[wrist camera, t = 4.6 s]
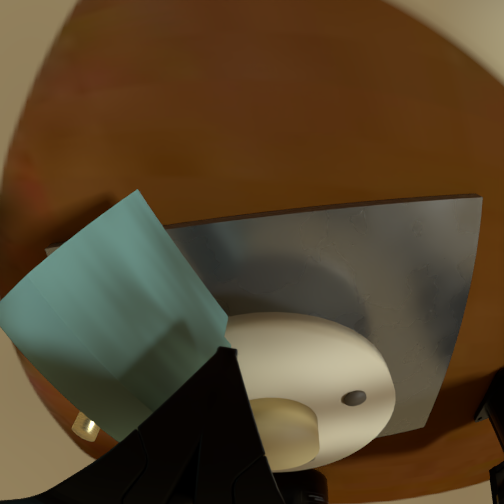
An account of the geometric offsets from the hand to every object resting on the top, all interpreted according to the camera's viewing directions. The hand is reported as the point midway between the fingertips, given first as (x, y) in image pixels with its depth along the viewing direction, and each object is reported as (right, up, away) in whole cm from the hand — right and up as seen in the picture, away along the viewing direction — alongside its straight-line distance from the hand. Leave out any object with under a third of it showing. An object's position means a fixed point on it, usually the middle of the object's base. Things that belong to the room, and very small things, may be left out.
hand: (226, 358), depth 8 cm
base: (+2, -4, +10) cm, 10 cm away
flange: (0, -3, +6) cm, 7 cm away
